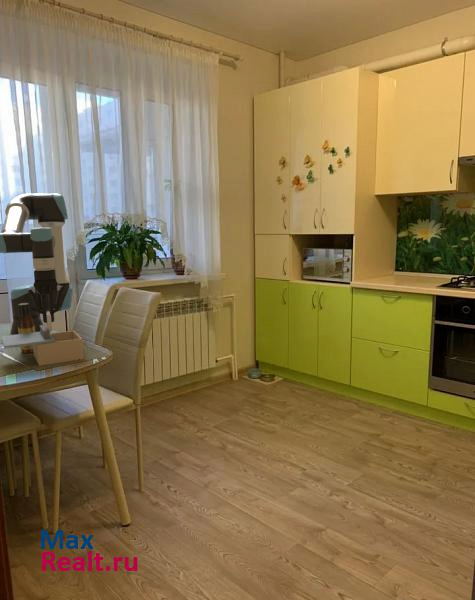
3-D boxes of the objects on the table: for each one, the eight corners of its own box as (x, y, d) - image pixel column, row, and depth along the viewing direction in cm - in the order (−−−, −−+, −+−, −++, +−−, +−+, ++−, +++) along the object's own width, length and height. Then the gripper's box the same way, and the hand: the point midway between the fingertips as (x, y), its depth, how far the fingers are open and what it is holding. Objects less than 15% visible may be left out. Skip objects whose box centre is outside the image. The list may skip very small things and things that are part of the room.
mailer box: (33, 355, 186) (32, 335, 185) (75, 349, 194) (74, 330, 192) (39, 365, 172) (37, 344, 171) (84, 358, 180) (82, 338, 179)
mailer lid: (1, 338, 180) (0, 328, 179) (48, 332, 188) (47, 323, 187) (4, 348, 165) (3, 337, 165) (54, 341, 173) (54, 331, 173)
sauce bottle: (31, 348, 196) (26, 301, 192) (40, 350, 193) (36, 302, 189) (16, 352, 190) (12, 304, 187) (26, 354, 187) (22, 305, 184)
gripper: (26, 271, 170) (32, 334, 174) (64, 269, 176) (69, 330, 180) (24, 269, 176) (30, 330, 180) (61, 267, 182) (65, 326, 186)
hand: (49, 330), depth 180 cm, fingers closed
